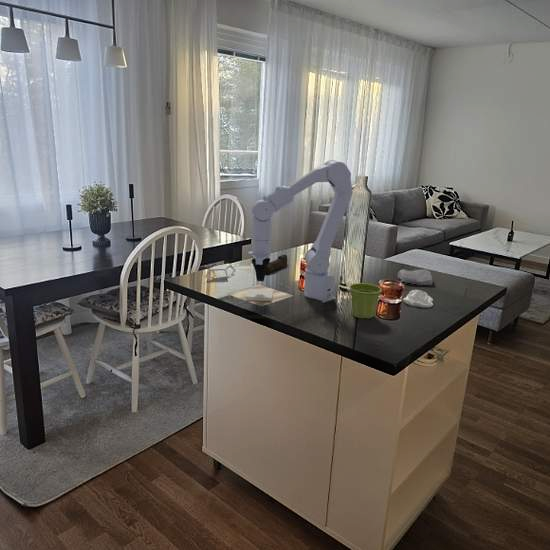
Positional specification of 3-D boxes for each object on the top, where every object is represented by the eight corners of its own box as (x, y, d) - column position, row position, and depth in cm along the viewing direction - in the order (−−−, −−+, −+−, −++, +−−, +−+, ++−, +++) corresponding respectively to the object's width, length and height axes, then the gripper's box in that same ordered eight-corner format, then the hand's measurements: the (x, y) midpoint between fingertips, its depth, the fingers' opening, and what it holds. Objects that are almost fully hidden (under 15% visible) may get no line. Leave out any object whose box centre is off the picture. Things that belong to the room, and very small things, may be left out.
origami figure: (223, 285, 168) (223, 272, 166) (203, 281, 172) (203, 268, 170) (241, 277, 178) (242, 264, 177) (223, 274, 182) (223, 261, 180)
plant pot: (357, 307, 150) (359, 281, 148) (384, 315, 145) (387, 287, 142) (341, 315, 143) (343, 287, 141) (369, 323, 138) (372, 295, 135)
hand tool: (267, 276, 182) (268, 264, 180) (259, 274, 184) (259, 262, 182) (292, 265, 197) (293, 254, 196) (284, 264, 199) (284, 253, 198)
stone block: (433, 291, 176) (428, 278, 184) (435, 279, 173) (429, 267, 182) (400, 290, 177) (396, 277, 185) (401, 278, 174) (397, 266, 183)
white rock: (420, 284, 162) (442, 293, 153) (419, 297, 163) (440, 306, 155) (397, 288, 157) (418, 297, 149) (396, 300, 159) (416, 310, 150)
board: (293, 298, 157) (293, 295, 156) (261, 309, 146) (261, 306, 146) (258, 287, 167) (258, 284, 167) (226, 296, 157) (226, 293, 156)
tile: (273, 289, 157) (271, 297, 150) (273, 293, 158) (271, 301, 150) (248, 288, 158) (246, 296, 150) (248, 292, 158) (245, 300, 150)
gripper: (251, 234, 158) (250, 273, 162) (246, 243, 144) (245, 286, 148) (272, 234, 157) (271, 274, 161) (269, 244, 144) (268, 287, 147)
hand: (260, 280), depth 154 cm, fingers closed
